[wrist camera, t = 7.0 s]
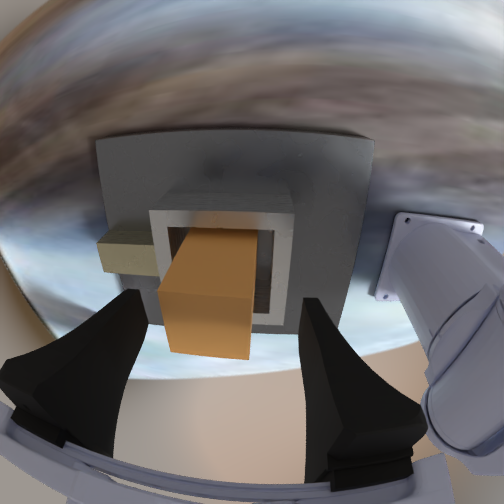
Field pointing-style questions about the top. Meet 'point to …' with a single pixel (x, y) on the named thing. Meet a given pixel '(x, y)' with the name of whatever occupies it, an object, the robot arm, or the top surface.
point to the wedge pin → (211, 293)
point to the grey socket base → (239, 210)
